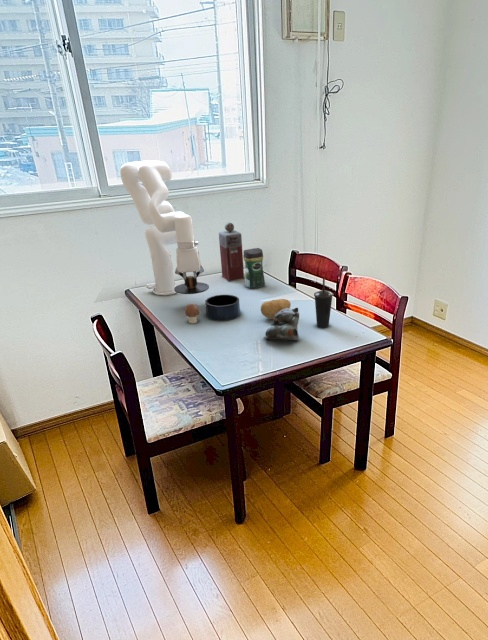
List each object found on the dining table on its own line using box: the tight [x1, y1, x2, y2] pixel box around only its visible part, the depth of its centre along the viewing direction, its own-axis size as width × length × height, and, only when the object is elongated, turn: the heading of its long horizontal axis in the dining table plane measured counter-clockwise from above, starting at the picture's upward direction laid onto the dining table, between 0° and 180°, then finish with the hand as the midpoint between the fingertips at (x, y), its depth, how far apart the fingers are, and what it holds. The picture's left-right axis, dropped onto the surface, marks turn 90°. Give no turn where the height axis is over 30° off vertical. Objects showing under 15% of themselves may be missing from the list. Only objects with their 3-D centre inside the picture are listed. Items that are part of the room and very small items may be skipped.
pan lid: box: [174, 275, 210, 295], centre depth 222 cm, size 16×16×6 cm
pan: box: [204, 294, 241, 322], centre depth 216 cm, size 15×15×6 cm
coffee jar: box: [243, 247, 266, 289], centre depth 245 cm, size 10×8×19 cm
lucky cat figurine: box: [263, 307, 300, 342], centre depth 191 cm, size 15×12×14 cm
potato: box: [260, 298, 291, 320], centre depth 211 cm, size 10×14×8 cm
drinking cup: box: [313, 277, 334, 329], centre depth 199 cm, size 8×8×20 cm
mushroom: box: [184, 303, 200, 324], centre depth 209 cm, size 6×6×8 cm
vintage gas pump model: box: [218, 221, 245, 282], centre depth 254 cm, size 9×11×28 cm
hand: (191, 286), depth 223 cm, fingers closed on pan lid, 2 cm apart
